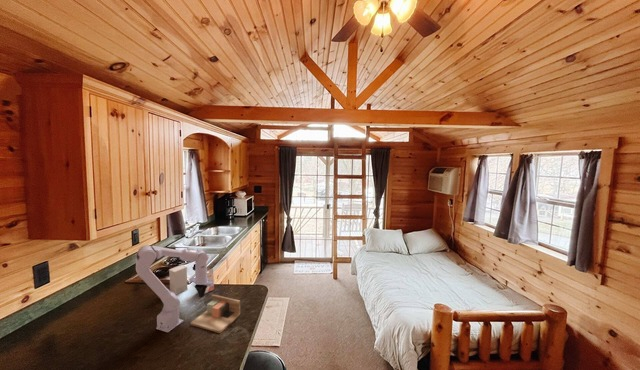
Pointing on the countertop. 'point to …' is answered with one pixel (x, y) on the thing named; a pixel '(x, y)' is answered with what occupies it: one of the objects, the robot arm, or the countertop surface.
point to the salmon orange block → (217, 309)
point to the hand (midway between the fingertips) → (201, 296)
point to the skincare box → (178, 279)
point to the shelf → (219, 323)
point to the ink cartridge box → (211, 278)
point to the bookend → (226, 311)
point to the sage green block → (211, 305)
